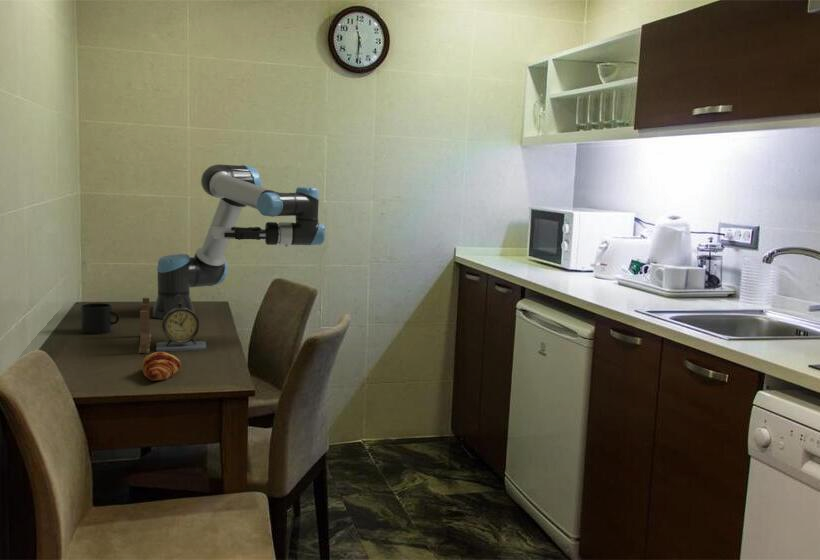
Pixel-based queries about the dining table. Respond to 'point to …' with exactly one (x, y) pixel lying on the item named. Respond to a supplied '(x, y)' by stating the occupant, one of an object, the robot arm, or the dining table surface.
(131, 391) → the dining table surface
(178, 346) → the pad
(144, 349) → the slalom posts
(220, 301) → the dining table surface
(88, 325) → the mug
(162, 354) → the croissant
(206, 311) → the dining table surface
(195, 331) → the alarm clock
